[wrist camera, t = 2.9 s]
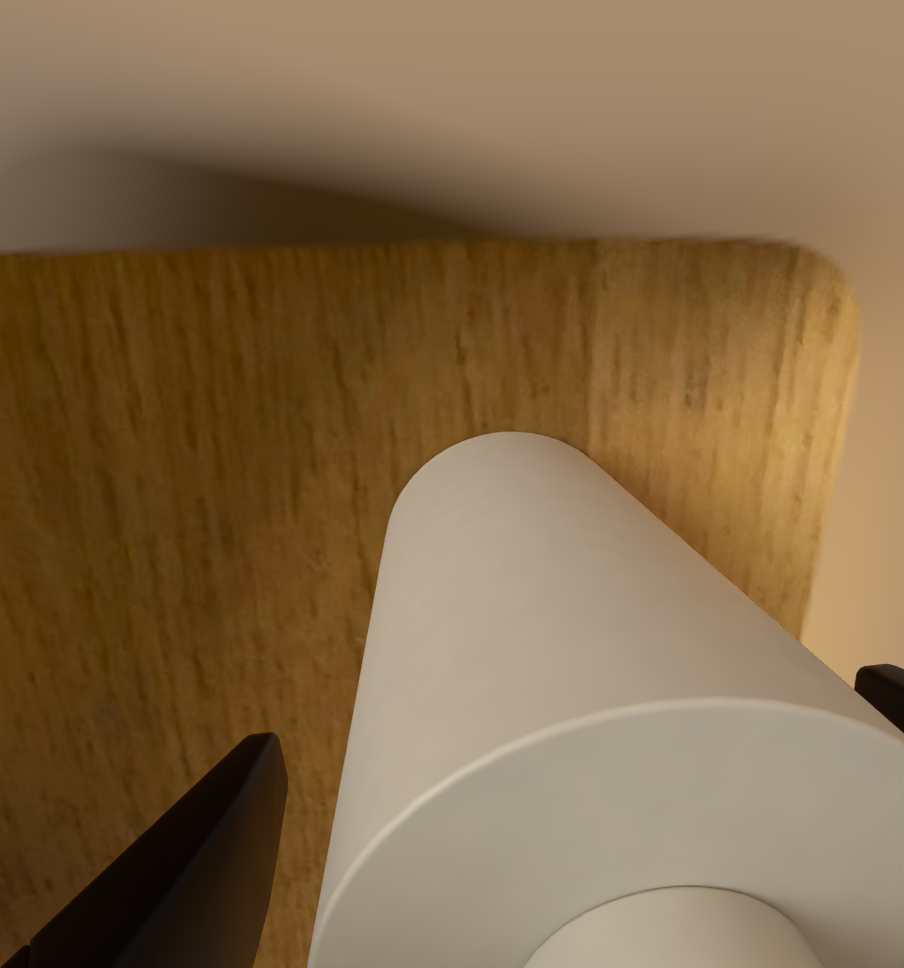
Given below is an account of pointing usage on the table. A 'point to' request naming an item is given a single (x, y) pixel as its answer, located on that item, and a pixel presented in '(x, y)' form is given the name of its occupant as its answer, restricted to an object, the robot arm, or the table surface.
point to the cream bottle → (596, 748)
